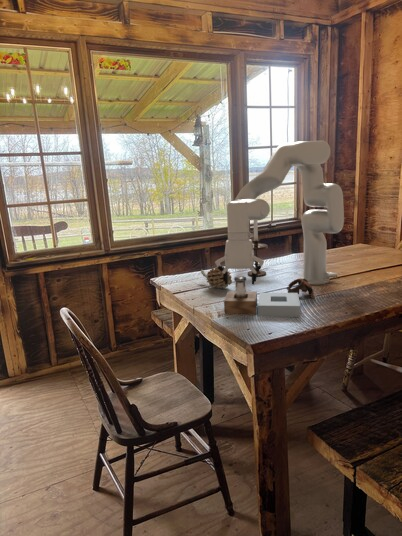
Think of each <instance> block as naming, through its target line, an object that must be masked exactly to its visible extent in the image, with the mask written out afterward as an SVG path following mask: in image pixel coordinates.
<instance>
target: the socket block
mask: <svg viewBox="0 0 402 536" xmlns="http://www.w3.org/2000/svg"><path fill="white" fill-rule="evenodd" d="M258 296H259V297H258V302H257V311H258V312H257V313H258V314H257V315H258V317H266V318H267V317H268V318H270V317H272V318H274V317H276V318H277V317H279V318H301V303H300V299H299V294H298V293H288V292H259V295H258Z"/></svg>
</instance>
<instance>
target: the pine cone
mask: <svg viewBox="0 0 402 536" xmlns="http://www.w3.org/2000/svg"><path fill="white" fill-rule="evenodd" d="M222 267H223V268H225V266H222ZM200 272H201V275H202V276H203V277H205V279H206V283H208V284H209V286H210V287H211V288H213V287H214V288H215V289H218V288H219V289H223V288H225V289H226V288H227V287H229V286H230V285H231V284H232V283H233V280H232V277H233V276H232V275H231V274H232V272H230V270H229V269H228V270H227V272H228V283H227V284H225V282H224V281H223V273H222V272H221V271H220V270H219V269H218V267H217V266H216V267H215V268H212V269H210V270H209V271H207V274H206V272H205V270H203V269H201V270H200Z"/></svg>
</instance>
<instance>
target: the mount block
mask: <svg viewBox="0 0 402 536" xmlns="http://www.w3.org/2000/svg"><path fill="white" fill-rule="evenodd" d="M223 307H224V309H223V310H224V315H236V316H237V315H240V316H241V315H244V316H245V315H248V316H249V315H250V316H251V315H252V316H256V315H257V310H258V292H257V291H249V290H247V291H246V298H236V290H235V291H231V290H230V291H227V293H226V295H225V298H224V300H223Z"/></svg>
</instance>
